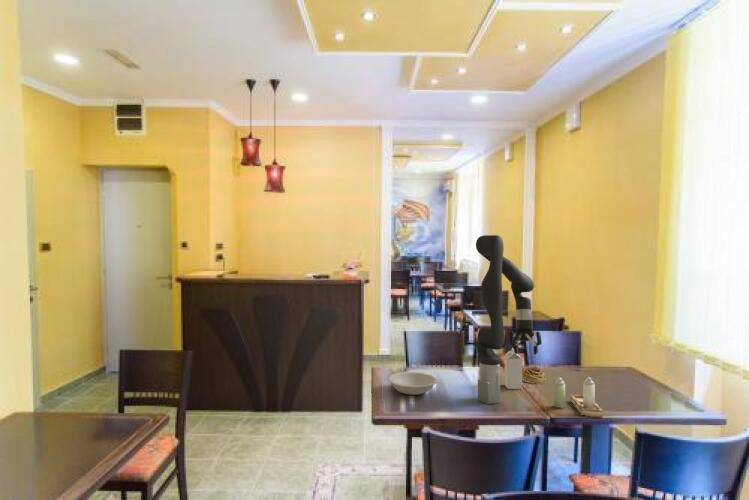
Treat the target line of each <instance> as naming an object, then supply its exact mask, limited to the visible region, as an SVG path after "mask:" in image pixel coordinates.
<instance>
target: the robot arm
mask: <svg viewBox="0 0 749 500" xmlns="http://www.w3.org/2000/svg"><path fill="white" fill-rule="evenodd" d="M504 247H505V246H504V240H503V238H502V236H500V235H499V234H490V235H487V234H486V235H481V236H479V237H478V238H477V239H476V241H475V248H476V250H477V252H478V253H479V255H481V256H482V257H484V258H485V259H486V260H487V261H488V262H489V266H488V270H487V272H486V273H485V275H484V277H483V279H482V281H481V285H480V297H481V299H480V300H481V302H482V304H483V307H484V308H485V310H486V312H487V314H488V317H489V321H490V327H489V326H482V327H480V328H479V330H478V332H477V337H476V338H477V339H476V344H477V345H476V346H477V356H478V359H479V363H478V364H479V366H478V367H479V368H478V369H479V372H478V374H479V375H478V377H479V378H478V380H477V401H478V402H482V403H484V404H486V405H490V404H494V405H495V404H498V403H500V402H501V358H500V356H499V355H498V354H497V353H495V352H494V350H501V349H502V348H503V346H504V344H505V328H504V320H503V319H504V318H503V281H502V280H503V279H502V278H503V276H504V277H505V278H506V279H507V281H509V282H510V289H511V291H512V295H513V297H514V301H515V324H516V325H515V326H516V327H515V328H516V331H510V332H509V344H510V345H512V346H513V349H514V352H515V353H516V354H518V355H519V344H520V343H521V342H530V343H531V344H532V345H533V348H532V349H533V355H537V354H538V353H539V352H538V350H539V346H540V345H542V335H541V332H540V331H534V323H533V311H532V301H531V298H530V297H527V296H523V293H530V292H532V291H533V290H534V288H535V283H534V281H533V279H532V277H530V276H529V275H527V274H526V273H524V272H523V271H521V270H520V269H519V268H518V266H517V265H516V264H515V263H514V262H513V261H511V260H510V259H509V258H507V257H505V256H504ZM534 336H535V337H536V340H535V338H533V337H534ZM515 337H516V339H515Z"/></svg>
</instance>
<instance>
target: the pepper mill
mask: <svg viewBox="0 0 749 500" xmlns="http://www.w3.org/2000/svg"><path fill="white" fill-rule="evenodd" d="M553 387H554V389H553V390H554V392H553V393H554V395H553V396H554V398H553V399H554V400H553V403H554V405H555V406H557V407H565V408H566V384H565V381H564V380H563V378H562V377H558V378H557V380H555V383H554V386H553Z"/></svg>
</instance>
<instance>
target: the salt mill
mask: <svg viewBox="0 0 749 500" xmlns="http://www.w3.org/2000/svg"><path fill="white" fill-rule="evenodd" d="M595 386H596V385H595V381H594V380H592V377H590V376H587V377H586V379H584V382H583V385H582V388H583V389H582V390H583V392H582V395H583V407H584V408H589V409H595V402H596V401H595V400H596V395H595V394H596V392H595V391H596V387H595Z"/></svg>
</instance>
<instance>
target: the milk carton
mask: <svg viewBox="0 0 749 500" xmlns="http://www.w3.org/2000/svg"><path fill="white" fill-rule="evenodd" d="M522 370H523V358H522V357H521V356H520V355H519V353H518V354H516V353H515V352H514V347H512V348H511V350H509V351H507V352H506V353H505V355H504V386H505V387H506V389H507V390H508V389H509V390H522V389H523V380H522Z"/></svg>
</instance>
